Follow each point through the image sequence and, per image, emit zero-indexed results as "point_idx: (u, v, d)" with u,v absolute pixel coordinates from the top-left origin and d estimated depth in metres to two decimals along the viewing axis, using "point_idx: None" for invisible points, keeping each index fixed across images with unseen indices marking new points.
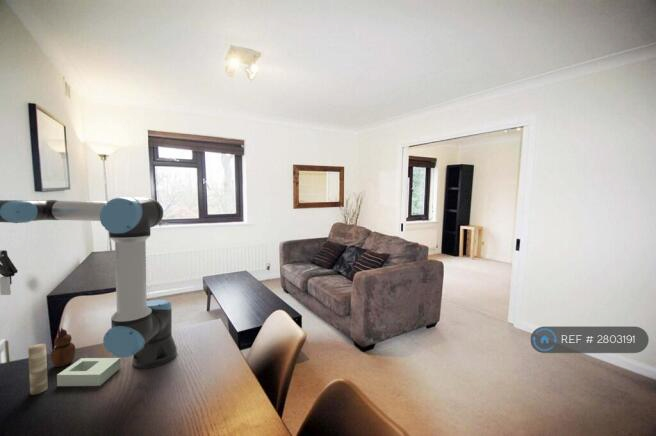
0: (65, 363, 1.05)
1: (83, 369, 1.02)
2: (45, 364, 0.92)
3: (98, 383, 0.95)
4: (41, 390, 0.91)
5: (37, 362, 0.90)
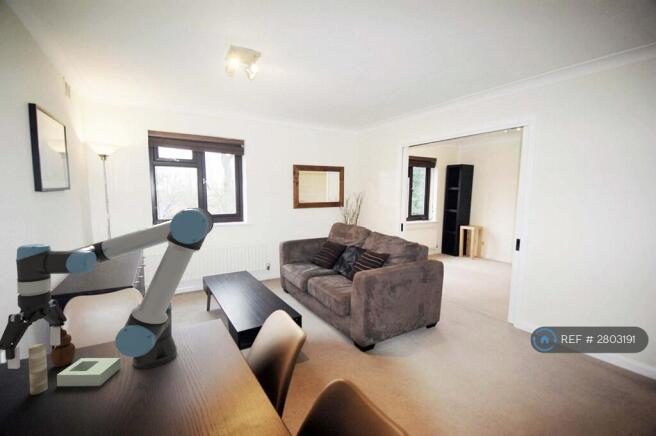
0: (65, 363, 1.05)
1: (83, 369, 1.02)
2: (45, 364, 0.92)
3: (98, 383, 0.95)
4: (41, 390, 0.91)
5: (37, 362, 0.90)
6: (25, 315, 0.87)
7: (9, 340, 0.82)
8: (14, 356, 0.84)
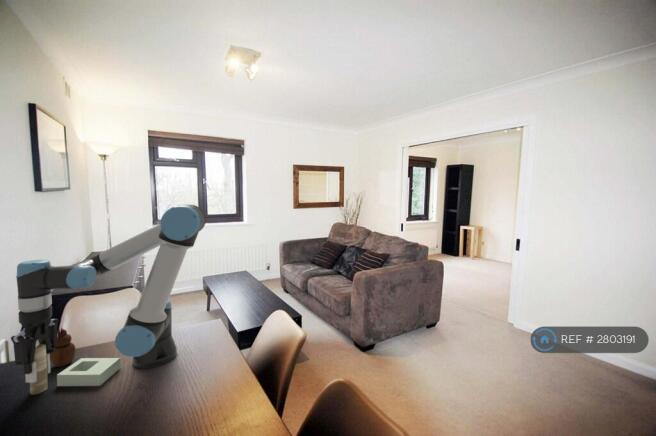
0: (65, 363, 1.05)
1: (83, 369, 1.02)
2: (45, 364, 0.92)
3: (98, 383, 0.95)
4: (41, 390, 0.91)
5: (37, 362, 0.90)
6: (27, 332, 0.87)
7: (23, 357, 0.86)
8: (31, 371, 0.89)
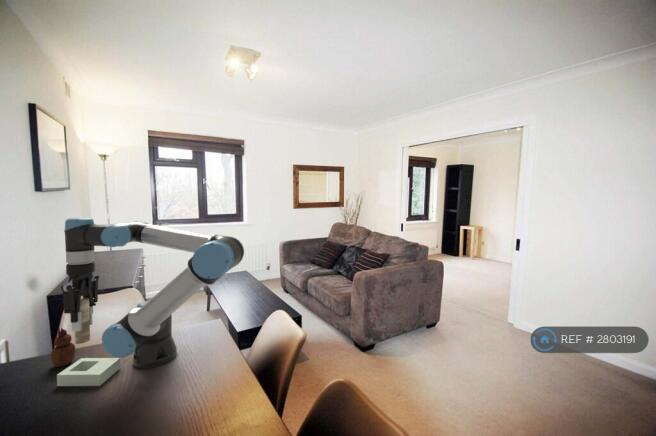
0: (65, 363, 1.05)
1: (83, 369, 1.02)
2: (88, 316, 0.99)
3: (98, 383, 0.95)
4: (85, 340, 0.98)
5: (82, 313, 0.97)
6: (74, 283, 0.94)
7: (71, 306, 0.93)
8: (77, 320, 0.96)
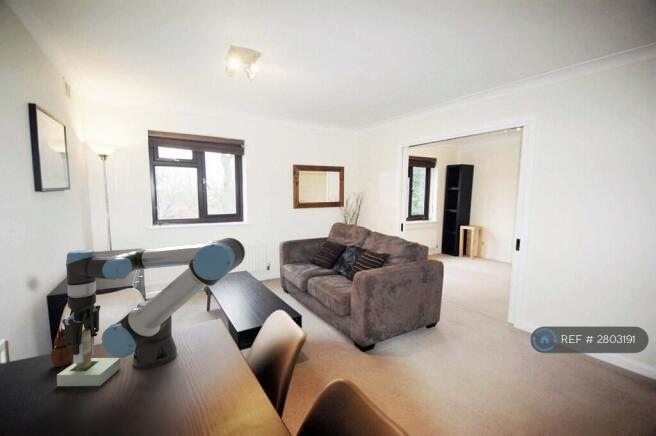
0: (65, 363, 1.05)
1: None
2: (90, 347, 1.00)
3: (98, 383, 0.95)
4: None
5: (84, 345, 0.98)
6: (76, 316, 0.95)
7: (73, 339, 0.93)
8: (79, 352, 0.96)
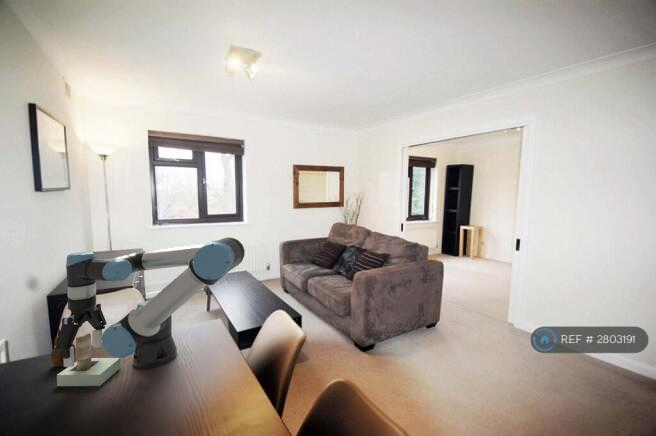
0: None
1: None
2: (90, 352, 1.00)
3: (98, 383, 0.95)
4: None
5: (84, 350, 0.98)
6: (75, 317, 0.94)
7: (65, 341, 0.90)
8: (69, 355, 0.92)
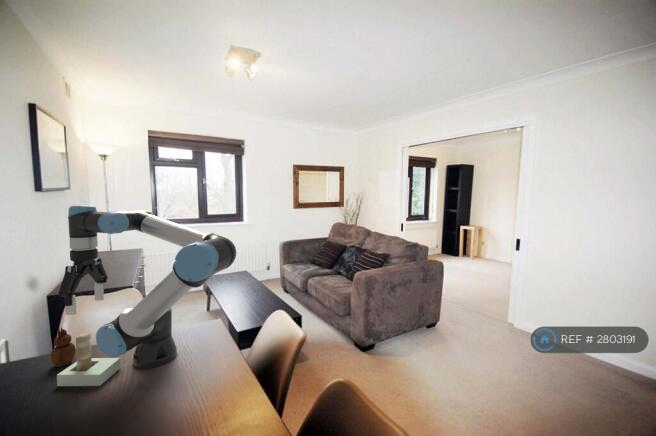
0: (65, 363, 1.05)
1: None
2: (90, 352, 1.00)
3: (98, 383, 0.95)
4: None
5: (84, 350, 0.98)
6: (78, 268, 0.96)
7: (68, 288, 0.91)
8: (71, 303, 0.93)
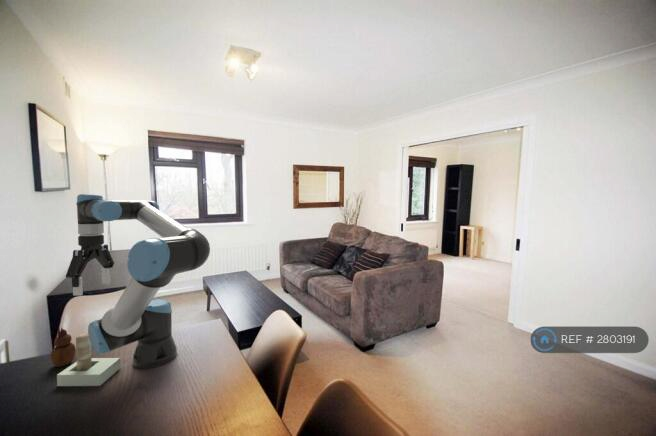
0: (65, 363, 1.05)
1: None
2: (90, 352, 1.00)
3: (98, 383, 0.95)
4: None
5: (84, 350, 0.98)
6: (85, 252, 1.03)
7: (75, 270, 0.98)
8: (78, 285, 1.00)
